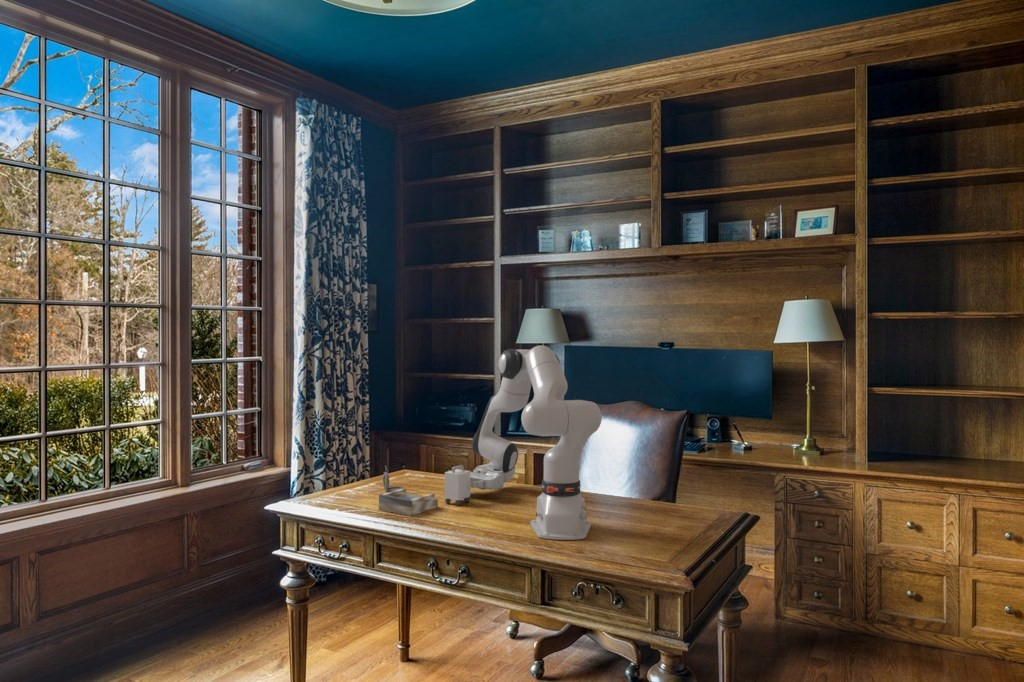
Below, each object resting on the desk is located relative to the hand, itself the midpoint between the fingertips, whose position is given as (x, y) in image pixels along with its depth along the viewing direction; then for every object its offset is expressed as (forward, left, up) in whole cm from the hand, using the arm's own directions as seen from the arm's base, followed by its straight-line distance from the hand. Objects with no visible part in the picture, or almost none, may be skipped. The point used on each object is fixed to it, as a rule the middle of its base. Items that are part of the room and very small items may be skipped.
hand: (461, 483), depth 241 cm
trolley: (-2, +1, -6) cm, 7 cm away
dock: (-11, +17, -6) cm, 21 cm away
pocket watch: (+13, +28, -7) cm, 31 cm away
